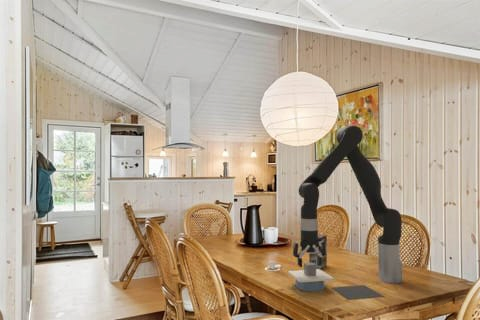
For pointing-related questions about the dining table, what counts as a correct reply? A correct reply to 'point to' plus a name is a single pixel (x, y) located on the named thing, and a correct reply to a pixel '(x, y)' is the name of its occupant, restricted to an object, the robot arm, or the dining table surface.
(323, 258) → the coffee box
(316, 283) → the bowl
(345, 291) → the mat
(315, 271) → the lid
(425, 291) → the dining table surface
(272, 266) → the teacup and saucer
